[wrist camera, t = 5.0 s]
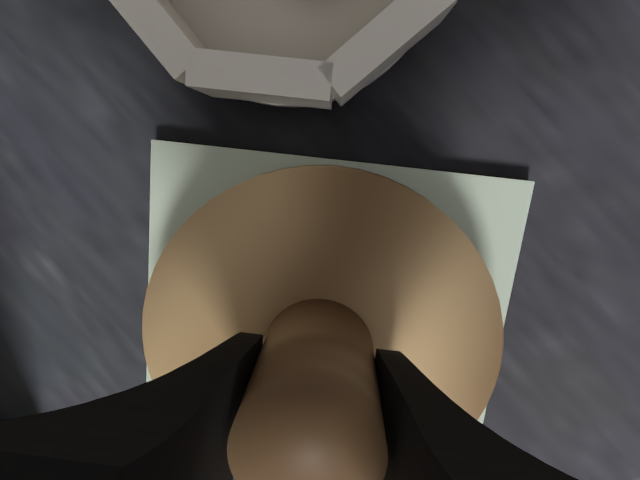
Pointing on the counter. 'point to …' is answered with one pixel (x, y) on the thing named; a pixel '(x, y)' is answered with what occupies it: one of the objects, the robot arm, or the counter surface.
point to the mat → (436, 186)
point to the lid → (324, 312)
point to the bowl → (281, 44)
